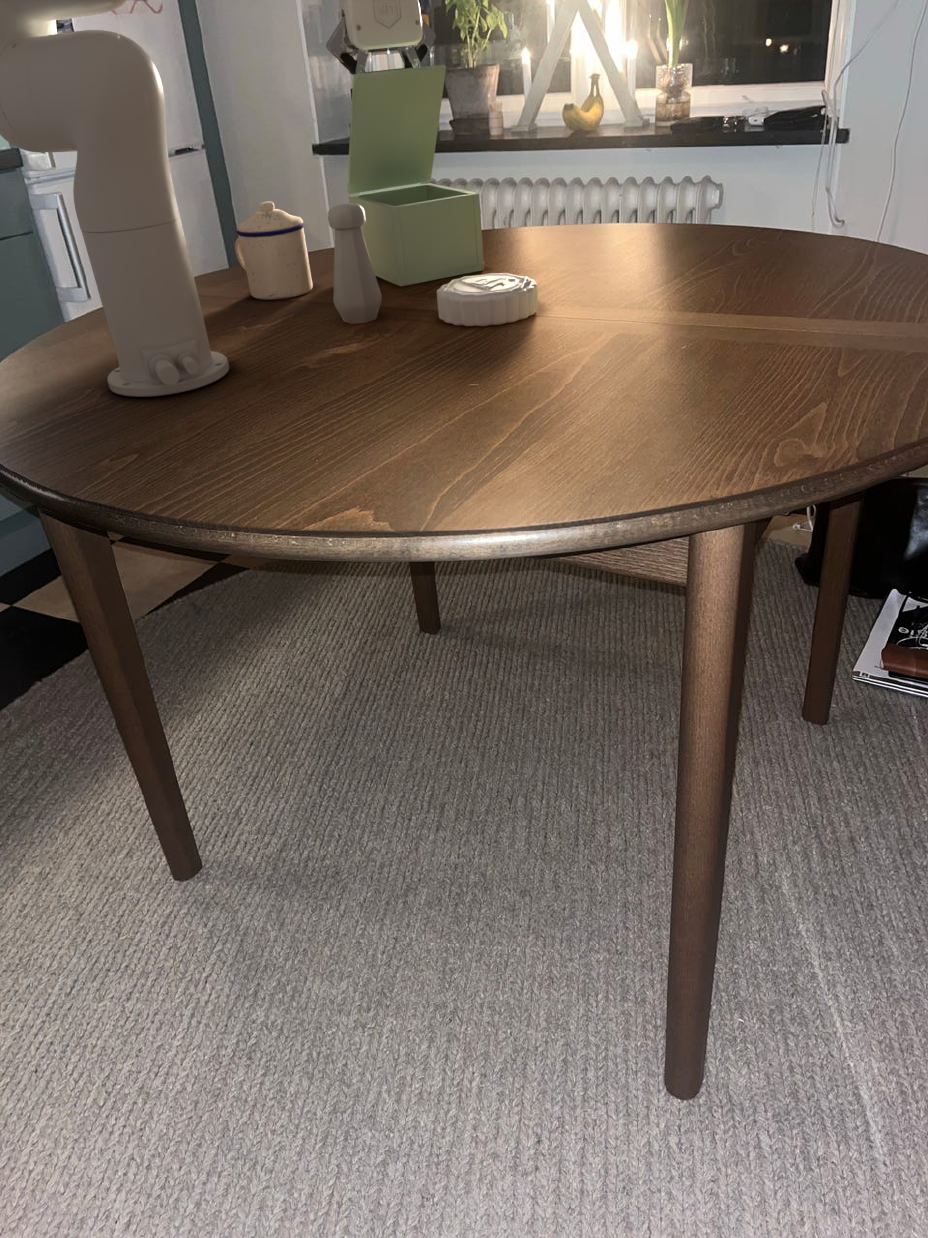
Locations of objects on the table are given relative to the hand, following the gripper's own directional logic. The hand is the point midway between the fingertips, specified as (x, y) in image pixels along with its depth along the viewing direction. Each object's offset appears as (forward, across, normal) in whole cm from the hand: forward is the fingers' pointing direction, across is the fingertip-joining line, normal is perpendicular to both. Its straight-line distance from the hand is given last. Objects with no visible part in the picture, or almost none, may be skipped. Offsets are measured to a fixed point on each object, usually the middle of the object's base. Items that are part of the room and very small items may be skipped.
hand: (388, 103), depth 129 cm
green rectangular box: (+21, 0, -5) cm, 22 cm away
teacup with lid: (+21, -21, -2) cm, 30 cm away
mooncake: (+21, -4, -34) cm, 40 cm away
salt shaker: (+21, -17, -25) cm, 37 cm away
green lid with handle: (+4, 0, -1) cm, 4 cm away
